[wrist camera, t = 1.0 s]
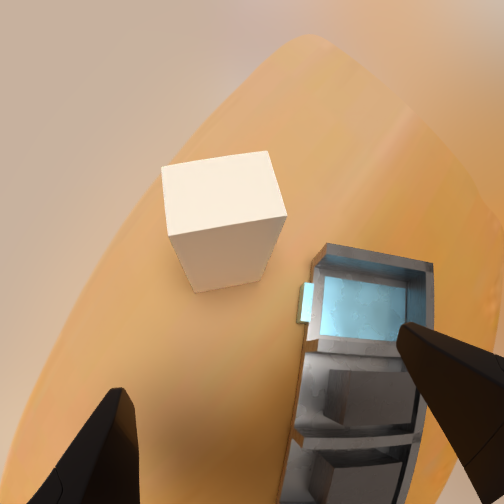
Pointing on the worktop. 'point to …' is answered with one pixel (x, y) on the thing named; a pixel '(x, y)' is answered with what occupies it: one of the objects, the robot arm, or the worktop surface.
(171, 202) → the white rectangular block
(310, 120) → the worktop surface
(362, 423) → the rack
